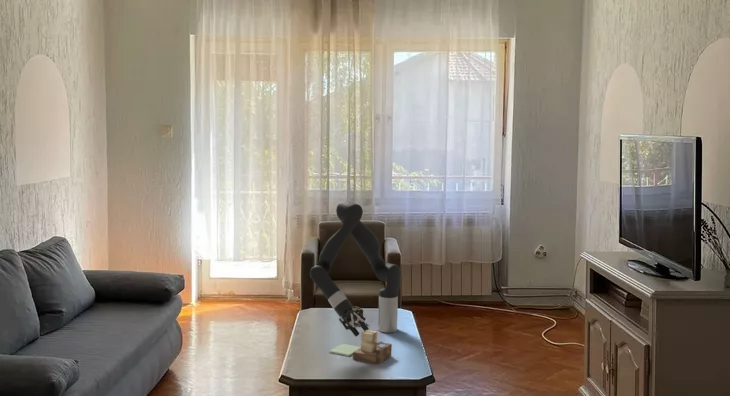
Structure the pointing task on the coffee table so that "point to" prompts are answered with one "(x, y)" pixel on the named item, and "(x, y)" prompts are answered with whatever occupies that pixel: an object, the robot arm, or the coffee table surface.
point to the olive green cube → (358, 309)
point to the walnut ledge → (374, 354)
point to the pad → (344, 350)
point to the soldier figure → (381, 343)
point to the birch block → (369, 341)
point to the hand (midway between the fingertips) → (362, 332)
